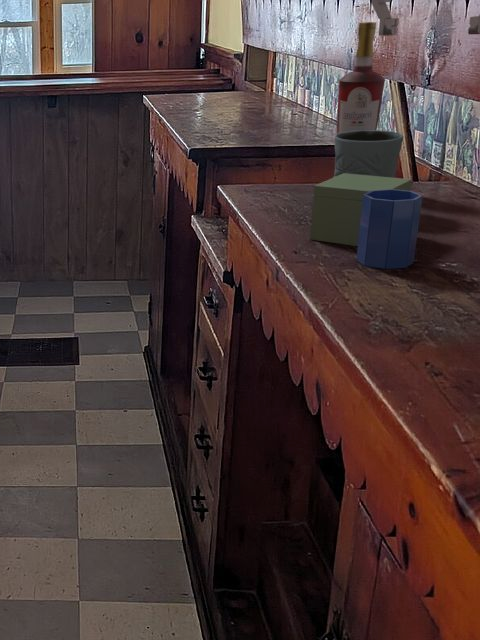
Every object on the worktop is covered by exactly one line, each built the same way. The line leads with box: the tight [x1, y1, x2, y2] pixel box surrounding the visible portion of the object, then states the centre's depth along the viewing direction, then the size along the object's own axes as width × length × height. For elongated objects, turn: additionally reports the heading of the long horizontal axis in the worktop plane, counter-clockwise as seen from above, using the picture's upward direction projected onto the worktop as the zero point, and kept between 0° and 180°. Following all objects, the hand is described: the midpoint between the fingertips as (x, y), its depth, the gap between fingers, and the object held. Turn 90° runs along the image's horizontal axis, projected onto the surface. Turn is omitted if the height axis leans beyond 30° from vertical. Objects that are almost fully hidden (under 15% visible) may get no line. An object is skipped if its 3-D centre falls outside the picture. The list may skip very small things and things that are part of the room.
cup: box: [355, 189, 423, 270], centre depth 114 cm, size 7×7×9 cm
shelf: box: [309, 173, 412, 247], centre depth 126 cm, size 10×10×8 cm
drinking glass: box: [333, 129, 404, 178], centre depth 139 cm, size 10×10×12 cm
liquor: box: [332, 21, 386, 178], centre depth 150 cm, size 7×7×28 cm
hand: (431, 34), depth 95 cm, fingers open, 8 cm apart
